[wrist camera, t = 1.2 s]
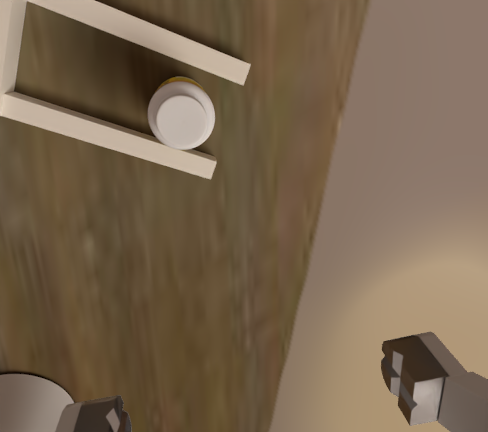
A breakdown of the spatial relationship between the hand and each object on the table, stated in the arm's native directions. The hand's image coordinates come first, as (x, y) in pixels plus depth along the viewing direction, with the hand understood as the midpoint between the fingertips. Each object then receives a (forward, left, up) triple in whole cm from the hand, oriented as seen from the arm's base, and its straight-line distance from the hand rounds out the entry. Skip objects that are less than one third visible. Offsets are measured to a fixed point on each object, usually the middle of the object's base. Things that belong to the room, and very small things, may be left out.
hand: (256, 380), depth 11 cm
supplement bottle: (+3, +3, -31) cm, 32 cm away
